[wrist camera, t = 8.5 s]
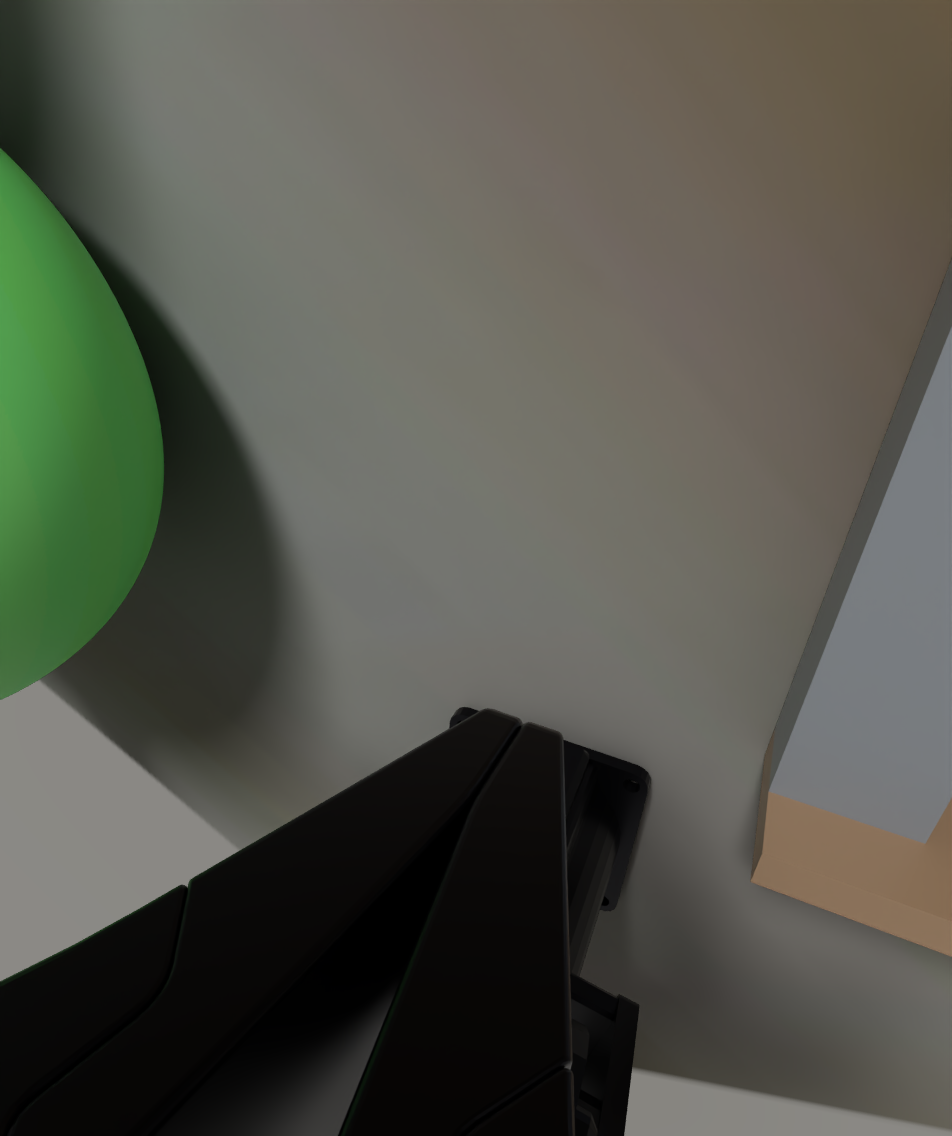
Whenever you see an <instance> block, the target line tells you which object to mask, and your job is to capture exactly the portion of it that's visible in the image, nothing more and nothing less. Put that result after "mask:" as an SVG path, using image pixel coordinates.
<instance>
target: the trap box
mask: <svg viewBox="0 0 952 1136" xmlns="http://www.w3.org/2000/svg"><path fill="white" fill-rule="evenodd" d="M751 882H752V883H755V884H758V885H760V886H763V887H766V888H768V889H771V890H774V891H776V892H779V893H782V894H785V895H787V896H790V897H793V898H795V899H798V900H801V901H803V902H806V903H809V904H811V905H814V906H817V907H820V908H822V909H825V910H828V911H830V912H833V913H836V914H838V915H841V916H844V917H846V918H849V919H852V920H854V921H857V922H860V923H863V924H865V925H868V926H871V927H873V928H876V929H879V930H881V931H884V932H887V933H889V934H892V935H895V936H898V937H900V938H903V939H906V940H908V941H911V942H914V943H916V944H919V945H922V946H924V947H927V948H930V949H932V950H935V951H938V952H941V953H943V954H946V955H949V956H951V957H952V259H951V262H950V265H949V267H948V270H947V273H946V275H945V278H944V281H943V283H942V286H941V289H940V291H939V294H938V297H937V299H936V302H935V305H934V307H933V310H932V313H931V315H930V318H929V321H928V323H927V326H926V329H925V331H924V334H923V336H922V339H921V342H920V344H919V347H918V350H917V352H916V355H915V358H914V360H913V363H912V366H911V368H910V371H909V374H908V376H907V379H906V382H905V384H904V387H903V390H902V392H901V395H900V398H899V400H898V403H897V406H896V408H895V411H894V413H893V416H892V419H891V421H890V424H889V427H888V429H887V432H886V435H885V437H884V440H883V443H882V445H881V448H880V451H879V453H878V456H877V459H876V461H875V464H874V467H873V469H872V472H871V475H870V477H869V480H868V483H867V485H866V488H865V490H864V493H863V496H862V498H861V501H860V504H859V506H858V509H857V512H856V514H855V517H854V520H853V522H852V525H851V528H850V530H849V533H848V536H847V538H846V541H845V544H844V546H843V549H842V552H841V554H840V557H839V560H838V562H837V565H836V567H835V570H834V573H833V575H832V578H831V581H830V583H829V586H828V589H827V591H826V594H825V597H824V599H823V602H822V605H821V607H820V610H819V613H818V615H817V618H816V621H815V623H814V626H813V629H812V631H811V634H810V637H809V639H808V642H807V644H806V647H805V650H804V652H803V655H802V658H801V660H800V663H799V666H798V668H797V671H796V674H795V676H794V679H793V682H792V684H791V687H790V690H789V692H788V695H787V698H786V700H785V703H784V706H783V708H782V711H781V714H780V716H779V719H778V721H777V724H776V727H775V729H774V732H773V735H772V737H771V740H770V743H769V745H768V748H767V751H766V753H765V759H764V768H763V777H762V786H761V794H760V803H759V812H758V820H757V829H756V838H755V847H754V855H753V864H752V873H751Z"/></svg>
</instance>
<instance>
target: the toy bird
mask: <svg viewBox="0 0 952 1136" xmlns="http://www.w3.org/2000/svg"><path fill="white" fill-rule="evenodd" d="M163 484H164V453H163V441H162V433H161V426H160V420H159V414H158V409H157V405H156V400H155V396H154V392H153V389H152V385H151V382H150V378H149V375H148V372H147V369H146V366H145V363H144V361H143V358H142V355H141V352H140V350H139V347H138V345H137V342H136V340H135V338H134V335H133V333H132V331H131V329H130V326H129V324H128V322H127V320H126V318H125V316H124V314H123V312H122V310H121V308H120V306H119V304H118V302H117V300H116V298H115V296H114V294H113V293H112V291H111V289H110V287H109V285H108V284H107V282H106V280H105V278H104V277H103V275H102V273H101V272H100V270H99V268H98V267H97V265H96V264H95V262H94V260H93V259H92V257H91V256H90V254H89V253H88V251H87V250H86V248H85V247H84V245H83V244H82V242H81V241H80V240H79V238H78V237H77V235H76V234H75V232H74V231H73V230H72V228H71V227H70V226H69V224H68V223H67V222H66V220H65V219H64V218H63V216H62V215H61V214H60V213H59V211H58V210H57V209H56V208H55V206H54V205H53V204H52V203H51V201H50V200H49V199H48V198H47V197H46V195H45V194H44V193H43V192H42V191H41V190H40V189H39V187H38V186H37V185H36V184H35V183H34V182H33V181H32V180H31V179H30V177H29V176H28V175H27V174H26V173H25V172H24V171H23V170H22V169H21V168H20V167H19V166H18V165H17V164H16V163H15V162H14V161H13V160H12V159H11V158H10V157H9V156H8V155H7V154H6V153H5V152H4V151H3V150H2V149H1V148H0V700H1V699H4V698H6V697H8V696H10V695H12V694H14V693H16V692H18V691H20V690H22V689H24V688H25V687H27V686H29V685H31V684H33V683H34V682H36V681H38V680H39V679H41V678H42V677H44V676H46V675H47V674H49V673H50V672H52V671H53V670H54V669H56V668H57V667H59V666H60V665H61V664H63V663H64V662H65V661H67V660H68V659H69V658H70V657H72V656H73V655H74V654H75V653H76V652H78V651H79V650H80V649H81V648H82V647H83V646H84V645H85V644H86V643H88V642H89V641H90V640H91V639H92V638H93V637H94V636H95V635H96V634H97V633H98V632H99V630H100V629H101V628H102V627H103V626H104V625H105V624H106V623H107V622H108V620H109V619H110V618H111V617H112V615H113V614H114V613H115V612H116V610H117V609H118V608H119V606H120V605H121V604H122V602H123V601H124V599H125V598H126V596H127V595H128V593H129V592H130V590H131V588H132V587H133V585H134V583H135V581H136V579H137V578H138V576H139V574H140V572H141V570H142V568H143V565H144V563H145V561H146V559H147V556H148V554H149V551H150V548H151V545H152V542H153V539H154V536H155V532H156V529H157V525H158V520H159V516H160V510H161V504H162V496H163Z"/></svg>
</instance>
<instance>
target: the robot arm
mask: <svg viewBox="0 0 952 1136" xmlns="http://www.w3.org/2000/svg"><path fill="white" fill-rule="evenodd" d="M628 779H631V780H634V781H636V782H637V784H636V783H632V782H630V781H629V780H628ZM649 786H650V776H649V774H648V772H647V771H646V770H645V769H644V768H642V767H640V766H638V765H635V764H632V763H629V762H627V761H624V760H621V759H618V758H615V757H612V756H609V755H606V754H603V753H600V752H597V751H594V750H591V749H588V748H586V747H583V746H580V745H577V744H574V743H571V742H568V741H565V740H563V736H562V734H561V733H560V732H558V731H555V730H552V729H549V728H547V727H544V726H541V725H538V724H535V723H532V722H528V723H525V724H523V723H522V721H521V720H520V719H519V718H517V717H514V716H511V715H508V714H505V713H503V712H500V711H497V710H494V709H488V708H487V709H483V710H481V711H477V710H474V709H471V708H467V707H462V708H459V709H458V710H457V711H456V712H455V713H454V715H453V716H452V718H451V720H450V727H449V729H448V730H446V731H445V732H443V733H441V734H439V735H438V736H436V737H434V738H433V739H431V740H429V741H427V742H426V743H424V744H422V745H421V746H419V747H417V748H415V749H414V750H412V751H410V752H408V753H407V754H405V755H403V756H402V757H400V758H398V759H396V760H395V761H393V762H391V763H390V764H388V765H386V766H384V767H383V768H381V769H379V770H378V771H376V772H374V773H372V774H371V775H369V776H367V777H366V778H364V779H362V780H360V781H359V782H357V783H355V784H353V785H352V786H350V787H348V788H347V789H345V790H343V791H341V792H340V793H338V794H336V795H335V796H333V797H331V798H329V799H328V800H326V801H324V802H323V803H321V804H319V805H317V806H316V807H314V808H312V809H311V810H309V811H307V812H305V813H304V814H302V815H300V816H298V817H297V818H295V819H293V820H292V821H290V822H288V823H286V824H285V825H283V826H281V827H280V828H278V829H276V830H274V831H273V832H271V833H269V834H268V835H266V836H264V837H262V838H261V839H259V840H257V841H256V842H254V843H252V844H250V845H249V846H247V847H245V848H243V849H242V850H240V851H238V852H237V853H235V854H233V855H231V856H230V857H228V858H226V859H225V860H223V861H221V862H219V863H218V864H216V865H214V866H213V867H211V868H209V869H207V870H206V871H204V872H203V873H201V874H199V875H197V876H195V877H194V878H192V879H191V880H190V881H189V884H188V888H187V887H186V886H185V885H180V886H178V887H176V888H174V889H172V890H171V891H169V892H167V893H166V894H164V895H162V896H161V897H159V898H157V899H155V900H153V901H152V902H150V903H148V904H147V905H145V906H143V907H141V908H140V909H138V910H136V911H134V912H132V913H131V914H129V915H127V916H125V917H123V918H122V919H120V920H118V921H116V922H114V923H113V924H111V925H109V926H107V927H105V928H103V929H102V930H100V931H98V932H96V933H94V934H93V935H91V936H89V937H88V938H85V939H83V940H82V941H80V942H78V943H76V944H75V945H72V946H71V947H69V948H66V949H64V950H63V951H60V952H58V953H57V954H54V955H52V956H50V957H48V958H46V959H44V960H42V961H40V962H39V963H37V964H35V965H32V966H30V967H29V968H26V969H24V970H22V971H20V972H18V973H16V974H14V975H12V976H10V977H8V978H6V979H4V980H3V981H0V1136H624V1132H625V1123H626V1115H627V1106H628V1097H629V1089H630V1080H631V1073H632V1064H633V1056H634V1048H635V1039H636V1031H637V1022H638V1014H639V1004H637V1003H635V1002H633V1001H631V1000H629V999H627V998H626V997H624V996H622V995H620V994H619V995H618V996H617V997H616V996H614V995H612V994H610V993H608V992H607V991H605V990H603V989H601V988H599V987H597V986H595V985H593V984H592V983H590V982H588V981H586V980H584V979H582V978H580V977H579V975H580V972H581V969H582V966H583V962H584V959H585V956H586V953H587V949H588V946H589V943H590V940H591V936H592V933H593V930H594V927H595V923H596V920H597V917H598V914H599V910H603V911H611V910H614V909H615V907H616V905H617V902H618V898H619V895H620V891H621V888H622V884H623V880H624V877H625V873H626V870H627V866H628V862H629V859H630V855H631V851H632V848H633V844H634V840H635V837H636V833H637V830H638V826H639V822H640V819H641V815H642V811H643V808H644V804H645V801H646V797H647V793H648V790H649Z"/></svg>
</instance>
